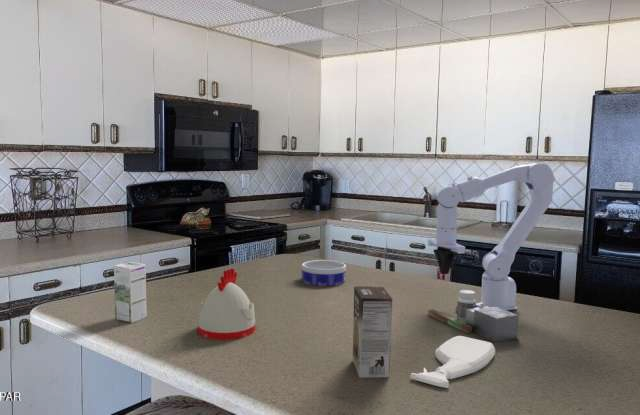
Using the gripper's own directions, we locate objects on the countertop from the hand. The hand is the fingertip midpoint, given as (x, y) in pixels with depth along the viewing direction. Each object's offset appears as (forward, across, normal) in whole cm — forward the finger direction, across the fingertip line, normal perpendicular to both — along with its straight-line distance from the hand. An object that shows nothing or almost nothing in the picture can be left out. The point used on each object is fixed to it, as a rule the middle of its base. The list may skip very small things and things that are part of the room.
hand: (444, 273), depth 153 cm
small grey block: (+9, +23, -5) cm, 26 cm away
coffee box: (+10, +32, -44) cm, 56 cm away
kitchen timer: (+10, -2, -65) cm, 66 cm away
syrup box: (+10, -19, -86) cm, 88 cm away
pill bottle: (+10, +16, -5) cm, 19 cm away
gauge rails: (+9, +15, -5) cm, 18 cm away
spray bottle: (+10, +38, -27) cm, 48 cm away
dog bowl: (+10, -39, -20) cm, 46 cm away
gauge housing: (+9, +26, -5) cm, 28 cm away
